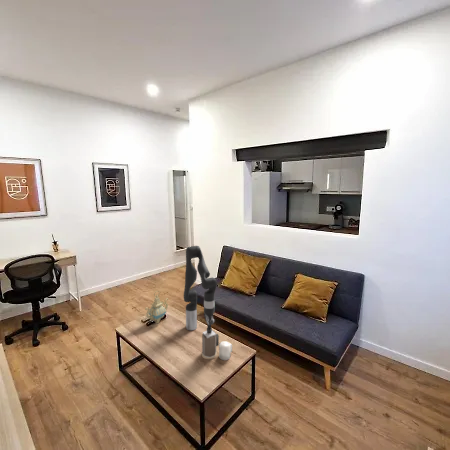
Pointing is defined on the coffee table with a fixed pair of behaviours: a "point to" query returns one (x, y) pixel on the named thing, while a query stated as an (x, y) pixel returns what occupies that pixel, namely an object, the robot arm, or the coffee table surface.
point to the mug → (225, 350)
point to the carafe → (209, 344)
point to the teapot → (157, 309)
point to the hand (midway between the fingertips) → (209, 328)
